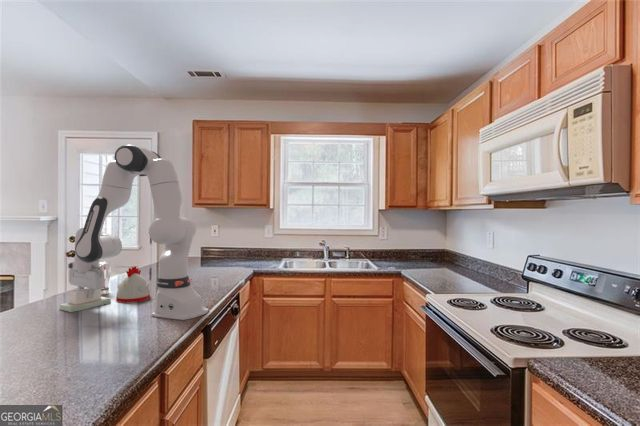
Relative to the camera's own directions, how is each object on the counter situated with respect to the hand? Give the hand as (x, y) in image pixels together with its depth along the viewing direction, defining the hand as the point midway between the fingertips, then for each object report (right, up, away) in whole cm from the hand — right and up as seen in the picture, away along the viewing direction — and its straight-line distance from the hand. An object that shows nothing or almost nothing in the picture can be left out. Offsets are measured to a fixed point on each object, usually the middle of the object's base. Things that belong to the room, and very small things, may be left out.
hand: (86, 297), depth 144 cm
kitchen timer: (+12, -4, +14) cm, 19 cm away
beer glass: (-7, -4, +21) cm, 23 cm away
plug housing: (+1, -2, +2) cm, 3 cm away
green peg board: (0, -4, 0) cm, 4 cm away
